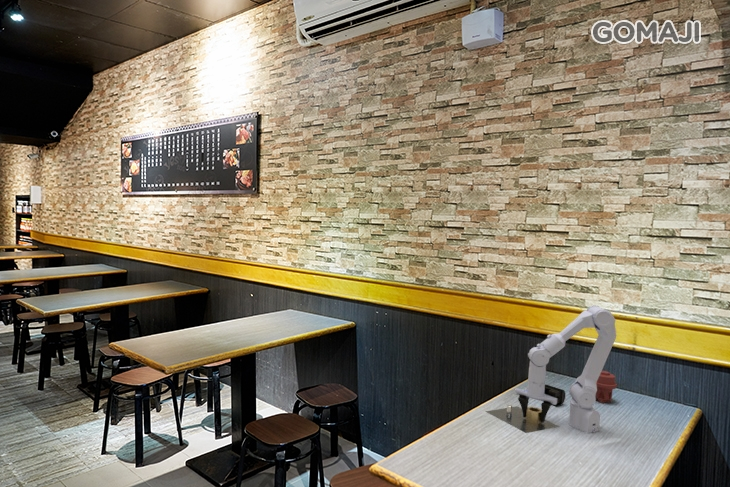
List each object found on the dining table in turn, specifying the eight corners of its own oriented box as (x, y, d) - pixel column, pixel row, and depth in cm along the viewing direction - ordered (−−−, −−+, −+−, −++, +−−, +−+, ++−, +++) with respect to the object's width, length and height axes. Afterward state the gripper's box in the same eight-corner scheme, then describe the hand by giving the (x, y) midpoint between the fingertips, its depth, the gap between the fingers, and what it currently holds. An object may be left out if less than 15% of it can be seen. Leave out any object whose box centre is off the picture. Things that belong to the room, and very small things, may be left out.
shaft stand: (559, 430, 169) (560, 415, 169) (525, 437, 162) (527, 421, 162) (516, 410, 187) (517, 396, 187) (484, 415, 179) (486, 400, 179)
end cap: (565, 405, 196) (566, 388, 196) (556, 408, 192) (557, 391, 192) (542, 397, 204) (543, 381, 204) (533, 400, 199) (534, 384, 199)
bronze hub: (544, 422, 172) (545, 411, 172) (534, 424, 169) (534, 413, 169) (533, 417, 177) (534, 406, 176) (522, 418, 174) (523, 408, 174)
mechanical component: (604, 406, 198) (584, 397, 207) (620, 403, 202) (600, 395, 211) (606, 376, 197) (586, 369, 206) (623, 374, 202) (602, 367, 211)
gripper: (560, 383, 171) (557, 421, 172) (520, 374, 180) (517, 410, 181) (555, 388, 166) (552, 427, 166) (513, 378, 174) (510, 415, 175)
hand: (533, 419), depth 173 cm, fingers closed on bronze hub, 6 cm apart
